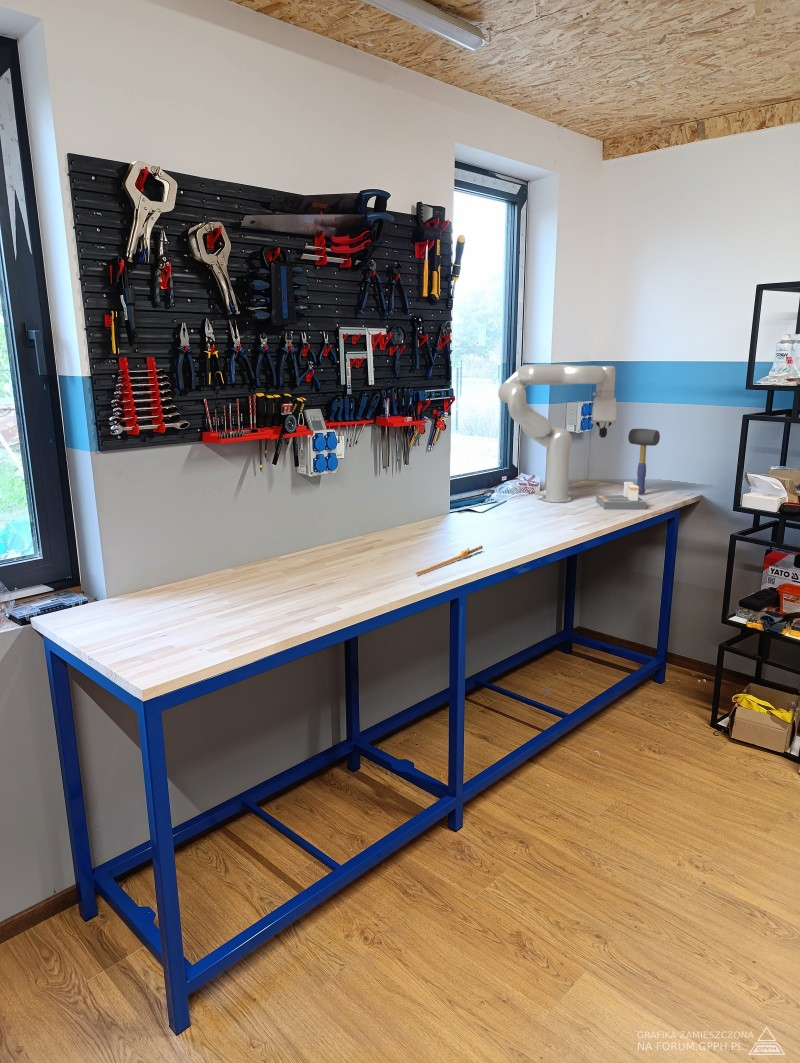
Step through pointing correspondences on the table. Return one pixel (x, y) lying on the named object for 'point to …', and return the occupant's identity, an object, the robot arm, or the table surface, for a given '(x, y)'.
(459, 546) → the table surface
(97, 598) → the table surface
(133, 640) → the table surface
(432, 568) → the katana
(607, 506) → the breaker panel
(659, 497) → the table surface
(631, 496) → the block
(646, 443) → the rubber mallet
